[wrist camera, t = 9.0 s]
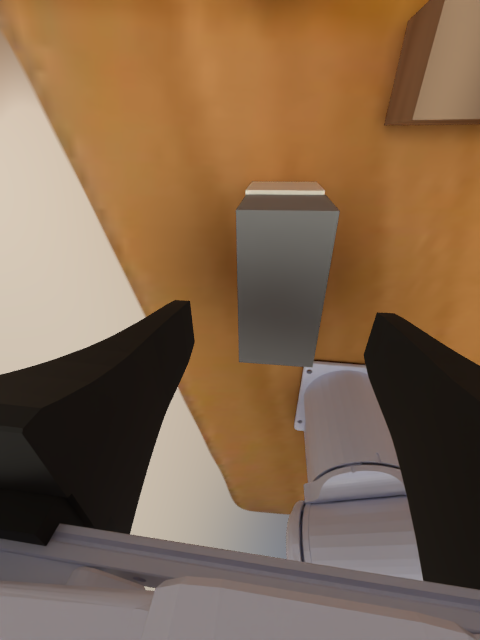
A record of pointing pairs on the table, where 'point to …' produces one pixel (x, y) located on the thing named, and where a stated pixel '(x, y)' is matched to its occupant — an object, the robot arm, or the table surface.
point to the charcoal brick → (282, 275)
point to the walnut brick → (439, 67)
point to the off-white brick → (285, 188)
